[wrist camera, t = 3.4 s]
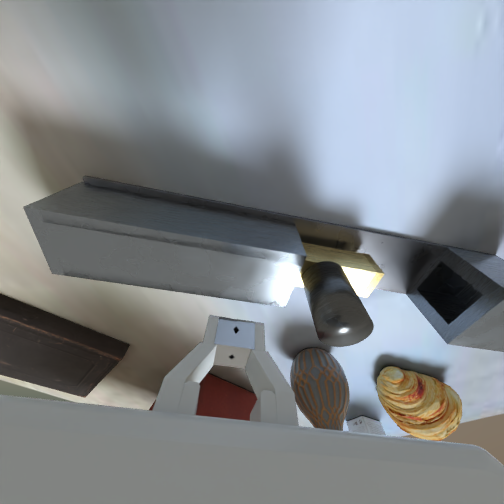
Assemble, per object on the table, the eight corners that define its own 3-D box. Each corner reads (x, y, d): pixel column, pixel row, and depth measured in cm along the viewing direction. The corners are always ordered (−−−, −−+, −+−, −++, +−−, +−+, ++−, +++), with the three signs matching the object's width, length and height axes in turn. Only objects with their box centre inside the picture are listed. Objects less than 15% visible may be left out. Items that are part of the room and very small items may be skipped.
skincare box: (345, 421, 43) (372, 513, 33) (362, 414, 41) (396, 511, 31) (364, 427, 45) (395, 516, 35) (381, 421, 43) (419, 514, 33)
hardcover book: (93, 382, 36) (84, 397, 34) (-90, 326, 27) (-116, 343, 25) (132, 340, 29) (123, 357, 27) (-99, 248, 20) (-135, 263, 18)
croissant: (353, 346, 34) (348, 402, 30) (430, 352, 27) (438, 429, 22) (407, 391, 42) (410, 441, 38) (478, 406, 35) (491, 470, 30)
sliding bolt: (109, 238, 18) (31, 308, 11) (101, 202, 16) (4, 262, 10) (353, 278, 20) (398, 354, 14) (370, 251, 18) (430, 324, 12)
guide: (97, 242, 19) (43, 288, 14) (80, 174, 16) (1, 205, 11) (449, 299, 23) (503, 351, 18) (496, 255, 20) (578, 304, 15)
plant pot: (287, 395, 37) (307, 570, 23) (216, 422, 44) (200, 566, 30) (198, 351, 29) (148, 574, 15) (132, 393, 37) (58, 568, 23)
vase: (294, 338, 27) (309, 421, 20) (344, 343, 28) (377, 426, 21) (282, 366, 31) (290, 444, 24) (326, 370, 32) (348, 447, 24)
